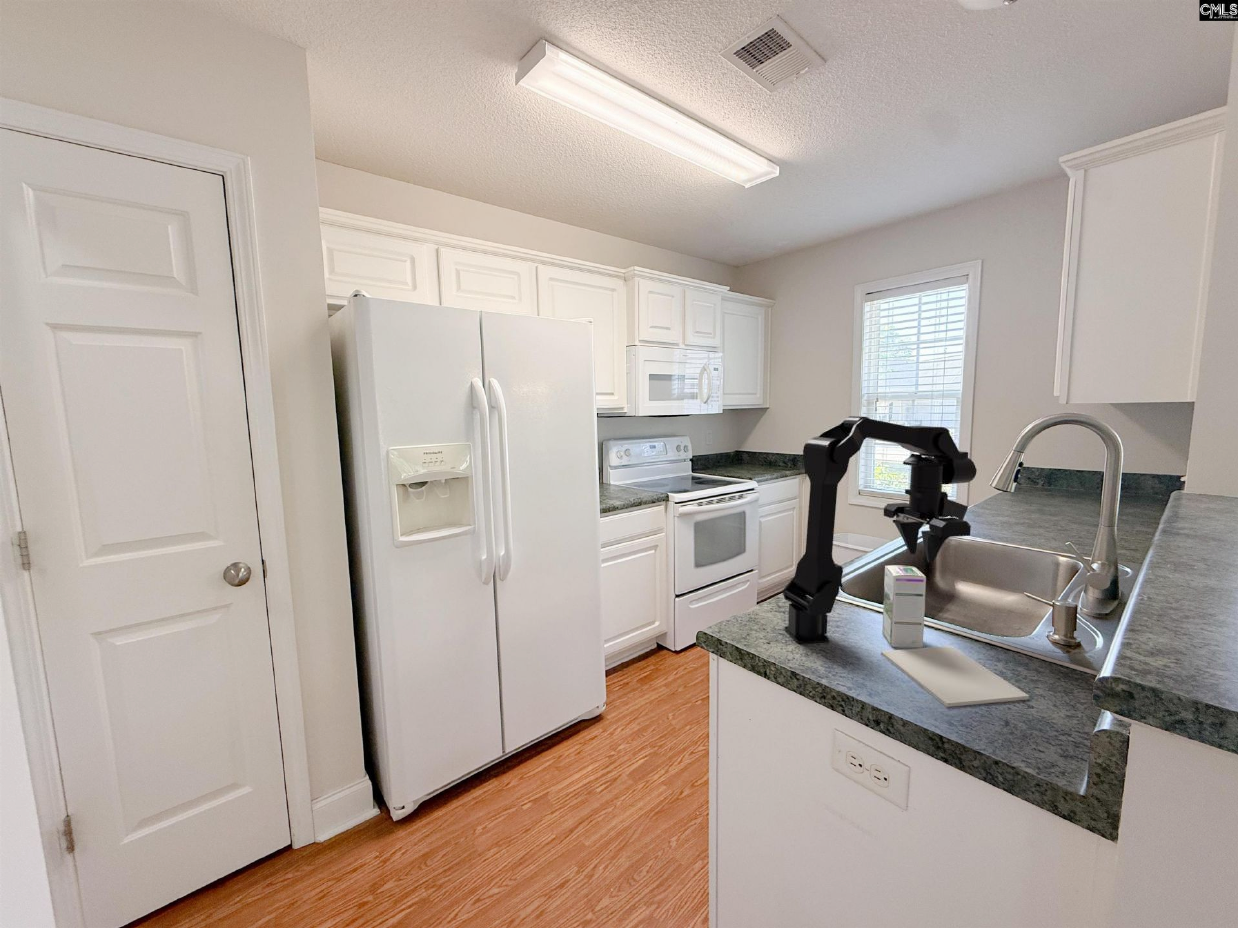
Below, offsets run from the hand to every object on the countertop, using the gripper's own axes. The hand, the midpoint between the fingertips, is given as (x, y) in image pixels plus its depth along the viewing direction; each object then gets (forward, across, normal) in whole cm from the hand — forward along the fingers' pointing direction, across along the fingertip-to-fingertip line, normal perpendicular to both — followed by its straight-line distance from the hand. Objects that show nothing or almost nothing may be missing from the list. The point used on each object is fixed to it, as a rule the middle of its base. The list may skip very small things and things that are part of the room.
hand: (921, 557), depth 106 cm
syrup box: (+13, -10, +11) cm, 20 cm away
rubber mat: (+13, -22, +11) cm, 28 cm away
